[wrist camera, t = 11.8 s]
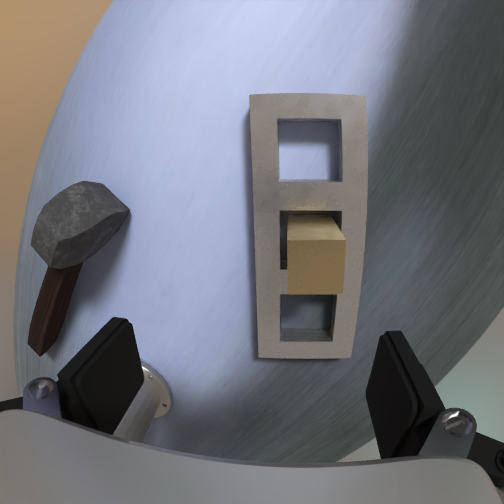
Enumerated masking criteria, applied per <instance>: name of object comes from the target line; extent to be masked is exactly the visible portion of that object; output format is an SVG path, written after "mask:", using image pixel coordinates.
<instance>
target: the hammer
mask: <svg viewBox="0 0 504 504" xmlns="http://www.w3.org/2000/svg"><path fill="white" fill-rule="evenodd" d="M129 211H130V209H129V208H128V207H127V206H126V205H125V204H124V203H122V202H121V201H120V200H119V199H118V198H117V197H116V196H115V195H114V194H113V193H112V192H111V191H110V190H109V189H108V188H107V187H105V186H104V185H103V184H101V183H95V182H89V181H82V182H79V183H76V184H74V185H71V186H70V187H68V188H66V189H64V190H63V191H61V192H59V193H58V194H57V195H56V196H55V197H54V198H52V199H51V200H50V201H49V202H48V203H47V204H46V205H44V207H43V209H42V211H41V212H40V214H39V216H38V218H37V221H36V224H35V227H34V230H33V235H32V241H31V246H32V247H33V248H34V250H35V251H36V252H37V253H38V254H39V255H40V257H41V258H42V259H43V260H44V261H45V262H46V263H47V264H48V269H47V271H46V274H45V277H44V280H43V283H42V286H41V289H40V293H39V296H38V299H37V302H36V306H35V309H34V313H33V316H32V320H31V324H30V329H29V337H28V345H29V346H30V347H31V348H32V349H33V350H34V351H35V352H36V353H37V354H38V355H39V356H42V355H43V354H44V353H45V352H46V351H47V350H48V349H49V348H50V347H51V346H52V345H53V344H54V343H55V341H56V339H57V337H58V335H59V332H60V329H61V327H62V324H63V322H64V318H65V315H66V311H67V308H68V305H69V302H70V299H71V295H72V292H73V289H74V286H75V283H76V281H77V278H78V275H79V272H80V269H81V267H82V264H83V261H85V260H86V259H88V258H89V257H90V256H92V255H93V254H95V253H96V252H97V251H98V250H99V249H100V248H101V247H103V246H104V245H105V244H106V243H107V242H108V241H109V240H110V239H111V238H112V236H113V235H114V234H115V233H116V232H117V231H118V230H119V228H120V226H121V225H122V223H123V221H124V219H125V217H126V216H127V214H128V212H129Z"/></svg>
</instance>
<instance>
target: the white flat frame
mask: <svg viewBox="0 0 504 504" xmlns="http://www.w3.org/2000/svg"><path fill="white" fill-rule="evenodd" d="M249 100H250V126H251V153H252V180H253V208H254V236H255V265H256V295H257V325H258V356H259V358H295V359H322V358H351V353H352V347H353V341H354V334H355V328H356V321H357V314H358V306H359V298H360V290H361V280H362V270H363V260H364V247H365V233H366V214H367V184H368V142H367V113H366V96H358V95H343V94H318V93H279V94H254V95H249ZM286 121H311V122H337V131H338V180H319V179H280V166H279V134H278V122H286ZM280 210H321V211H338V221H337V226H338V228H339V229H340V231H341V232H342V234H343V236H344V237H345V239H346V252H345V271H344V286H343V294H333V305H332V316H331V326H330V329H281V294H288V274H287V260H281V214H280Z"/></svg>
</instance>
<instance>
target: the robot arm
mask: <svg viewBox="0 0 504 504" xmlns="http://www.w3.org/2000/svg"><path fill="white" fill-rule="evenodd" d="M57 376H58V378H59V380H58V381H57V382H55V381H54V380H53V379H51V378H48V377H40V378H36V379H34V380H32V381H30V382H29V383H28V384H27V385H26V387H25V388H24V391H23V397H19V398H15V399H11V400H6V401H2V402H0V504H504V443H502V442H500V441H497V440H495V439H492V438H490V437H487V436H485V435H482V434H480V433H477V432H476V428H477V424H476V420H475V418H474V417H473V416H472V415H471V414H470V413H469V412H468V411H466V410H464V409H460V408H449V409H445V407H444V405H443V403H442V401H441V399H440V397H439V395H438V393H437V391H436V389H435V387H434V385H433V384H432V382H431V380H430V378H429V376H428V374H427V372H426V371H425V369H424V367H423V366H422V364H420V363H419V361H418V359H417V357H416V356H415V354H414V352H413V350H412V349H411V347H410V345H409V343H408V342H407V340H406V338H405V336H404V335H403V333H402V332H401V331H386V332H385V334H384V335H381V336H380V338H379V342H378V347H377V351H376V355H375V359H374V363H373V367H372V371H371V374H370V378H369V381H368V385H367V388H366V400H367V404H368V407H369V411H370V415H371V419H372V423H373V427H374V431H375V435H376V440H377V444H378V448H379V453H380V457H381V459H377V460H367V461H355V462H336V463H272V462H256V461H243V460H233V459H224V458H217V457H209V456H203V455H196V454H190V453H185V452H179V451H174V450H169V449H165V448H160V447H156V446H151V445H147V444H143V443H141V441H142V439H143V437H144V435H145V433H146V431H147V429H148V427H149V425H150V423H151V421H152V419H153V418H159V417H162V416H164V415H165V414H167V412H168V411H169V410H170V407H171V405H172V400H173V399H172V393H171V391H170V388H169V387H168V385H167V383H166V382H165V380H164V379H163V378H162V377H161V376H160V375H159V374H158V373H157V372H156V371H155V370H154V369H153V368H152V367H150V366H149V365H148V364H146V363H144V362H143V361H141V360H140V357H139V352H138V348H137V344H136V339H135V335H134V330H133V326H132V324H131V323H129V321H128V320H127V319H125V318H118V317H113V318H111V319H110V320H109V321H108V322H107V323H106V324H105V325H104V326H103V327H102V328H101V329H100V331H99V332H98V333H97V334H96V335H95V336H94V337H93V338H92V339H91V340H90V341H89V342H88V343H87V344H86V345H85V346H84V347H83V348H82V349H81V350H80V351H79V352H78V353H77V354H76V355H75V356H74V357H73V358H72V359H71V360H70V361H69V362H68V364H67V365H66V366H65V367H64V368H63V369H62V370H61V371H60V372H59V373H58V374H57Z"/></svg>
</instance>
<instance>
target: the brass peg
mask: <svg viewBox="0 0 504 504" xmlns="http://www.w3.org/2000/svg"><path fill="white" fill-rule="evenodd" d="M345 252H346V239H345V237H344V236H343V234H342V232H341V231H340V229H339V228H338V226H337V224H336V223H335V221H334V220H333V218H332V216H331V215H330V214H288V231H287V274H288V294H343V286H344V271H345Z"/></svg>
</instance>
